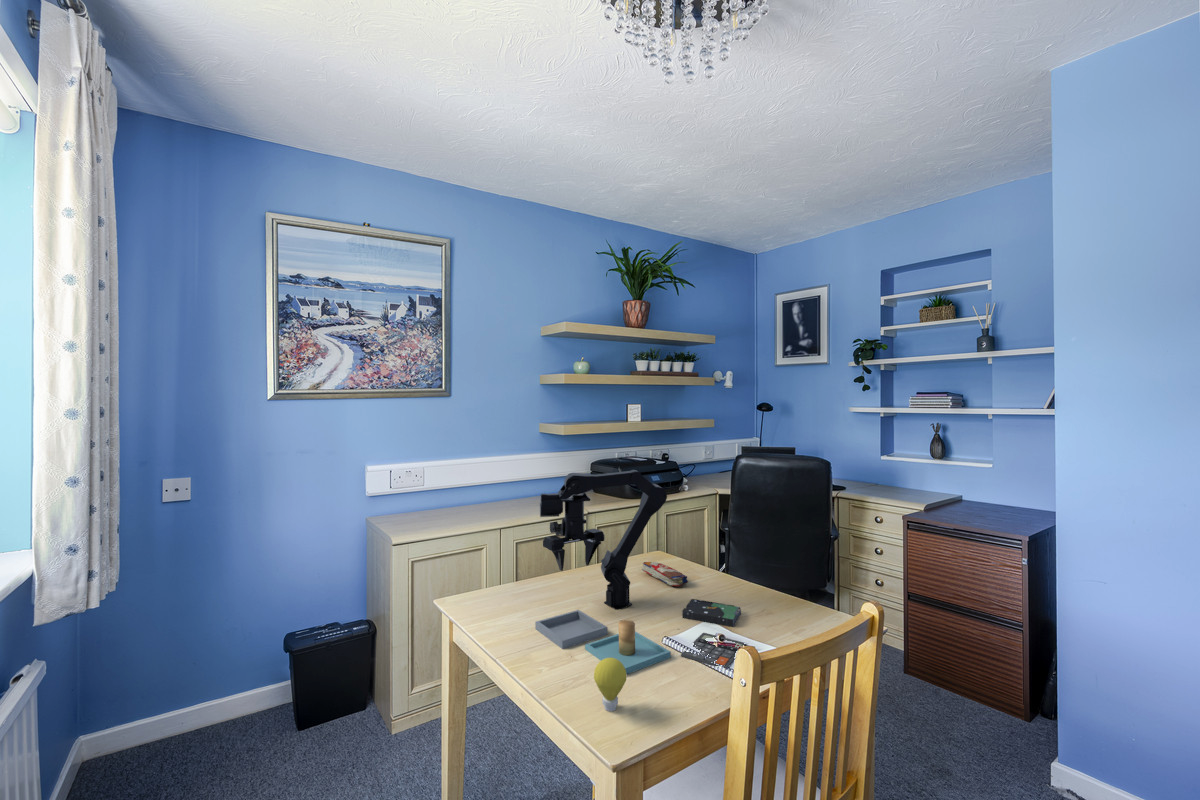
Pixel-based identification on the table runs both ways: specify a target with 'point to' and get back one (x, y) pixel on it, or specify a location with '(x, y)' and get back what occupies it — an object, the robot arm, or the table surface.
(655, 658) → the tray
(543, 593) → the table surface
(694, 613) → the disk drive
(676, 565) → the table surface
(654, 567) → the pencil case
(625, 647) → the wooden peg
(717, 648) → the calculator
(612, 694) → the light bulb
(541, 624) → the shallow gray bin
